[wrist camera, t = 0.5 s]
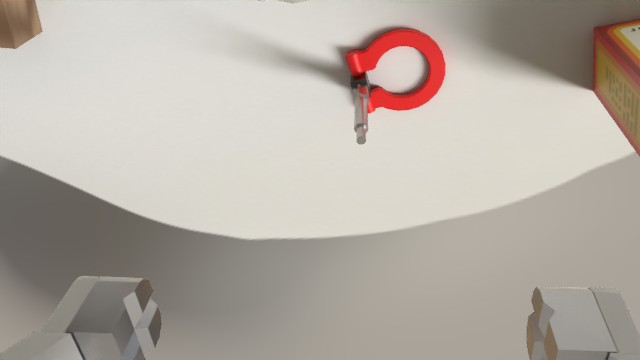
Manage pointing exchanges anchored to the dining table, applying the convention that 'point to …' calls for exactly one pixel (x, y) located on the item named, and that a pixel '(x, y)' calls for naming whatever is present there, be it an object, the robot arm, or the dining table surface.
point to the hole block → (18, 22)
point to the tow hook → (379, 97)
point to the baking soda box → (619, 75)
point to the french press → (290, 0)
